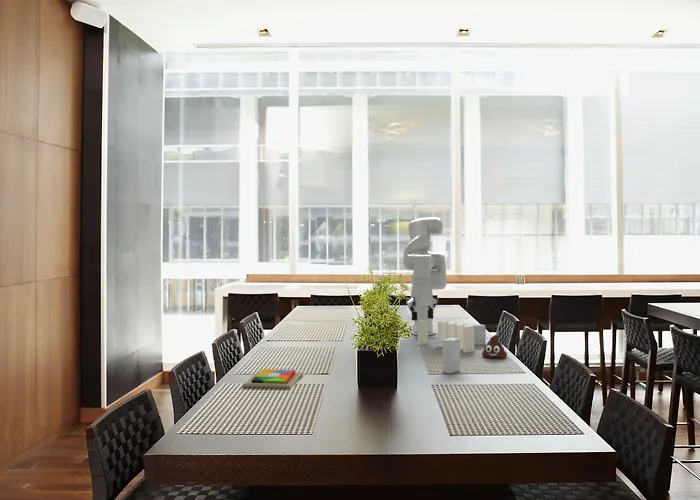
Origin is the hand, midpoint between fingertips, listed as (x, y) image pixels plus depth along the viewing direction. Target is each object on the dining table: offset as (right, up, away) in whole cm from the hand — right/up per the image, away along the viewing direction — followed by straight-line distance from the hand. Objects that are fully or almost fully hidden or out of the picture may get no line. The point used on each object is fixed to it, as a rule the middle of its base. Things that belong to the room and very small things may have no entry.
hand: (422, 319), depth 269 cm
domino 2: (+9, -12, -4) cm, 15 cm away
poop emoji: (+26, -12, -29) cm, 40 cm away
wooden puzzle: (-60, -16, -59) cm, 86 cm away
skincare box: (+4, -14, -51) cm, 53 cm away
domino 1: (0, -12, +1) cm, 12 cm away
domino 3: (+12, -12, -8) cm, 19 cm away
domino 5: (+18, -12, -17) cm, 27 cm away
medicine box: (+24, -11, -2) cm, 27 cm away
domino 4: (+15, -12, -13) cm, 23 cm away
